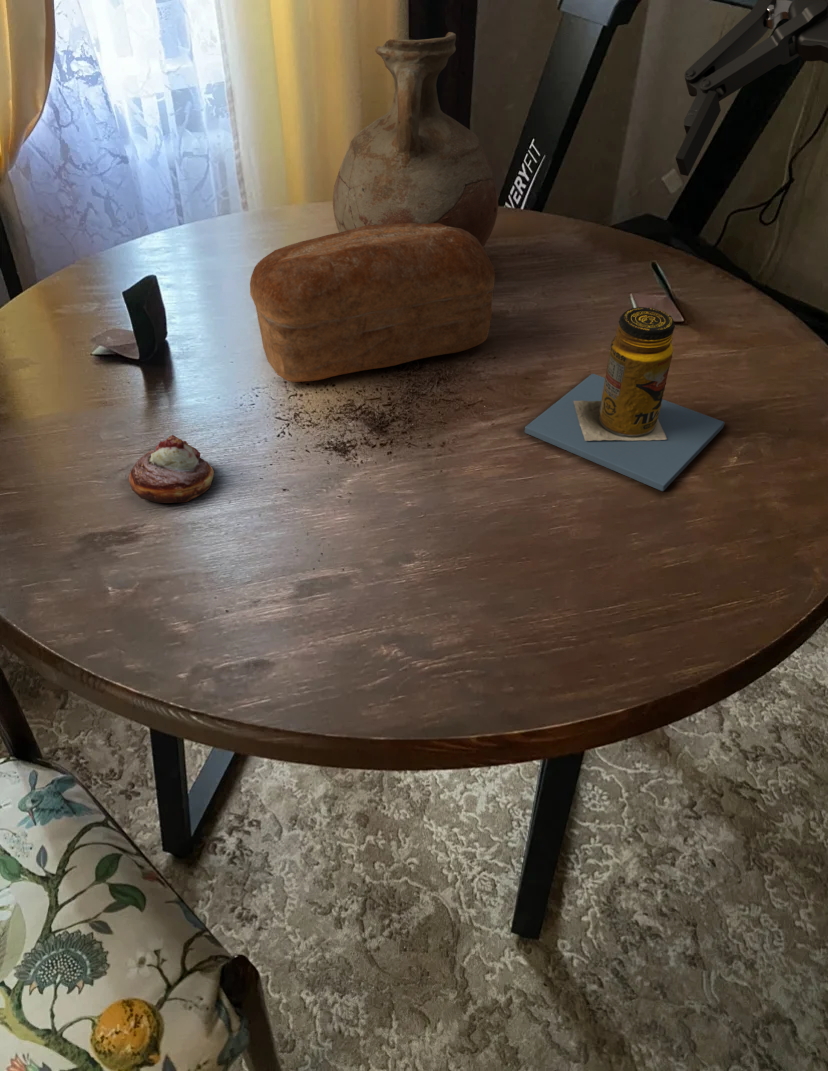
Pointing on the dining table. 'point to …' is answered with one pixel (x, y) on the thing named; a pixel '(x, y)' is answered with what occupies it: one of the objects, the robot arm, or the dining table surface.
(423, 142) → the jug
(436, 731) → the dining table surface
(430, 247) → the bread
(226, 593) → the dining table surface
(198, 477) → the pastry
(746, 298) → the dining table surface
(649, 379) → the condiment
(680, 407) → the sauce mat
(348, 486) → the dining table surface
